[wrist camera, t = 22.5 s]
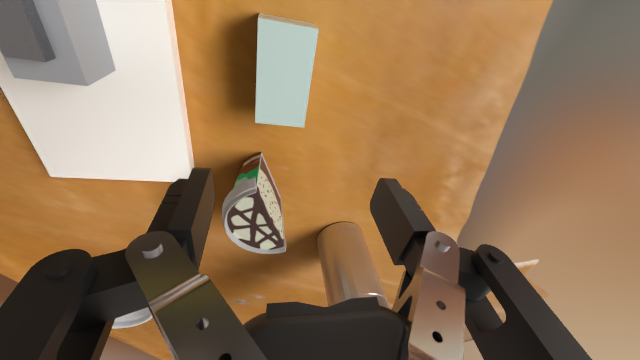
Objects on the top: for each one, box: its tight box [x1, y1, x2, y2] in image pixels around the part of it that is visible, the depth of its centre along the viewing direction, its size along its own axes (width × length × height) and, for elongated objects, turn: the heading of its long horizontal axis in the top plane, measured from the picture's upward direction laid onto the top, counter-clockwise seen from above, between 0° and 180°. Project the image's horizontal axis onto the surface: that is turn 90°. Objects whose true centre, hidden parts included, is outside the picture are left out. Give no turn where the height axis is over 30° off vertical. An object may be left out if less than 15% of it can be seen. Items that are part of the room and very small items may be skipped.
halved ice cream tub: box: [222, 152, 286, 254], centre depth 35 cm, size 12×6×10 cm, turn 12°
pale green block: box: [255, 13, 319, 127], centre depth 28 cm, size 10×6×5 cm, turn 170°
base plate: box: [0, 0, 195, 182], centre depth 25 cm, size 24×16×7 cm, turn 170°
